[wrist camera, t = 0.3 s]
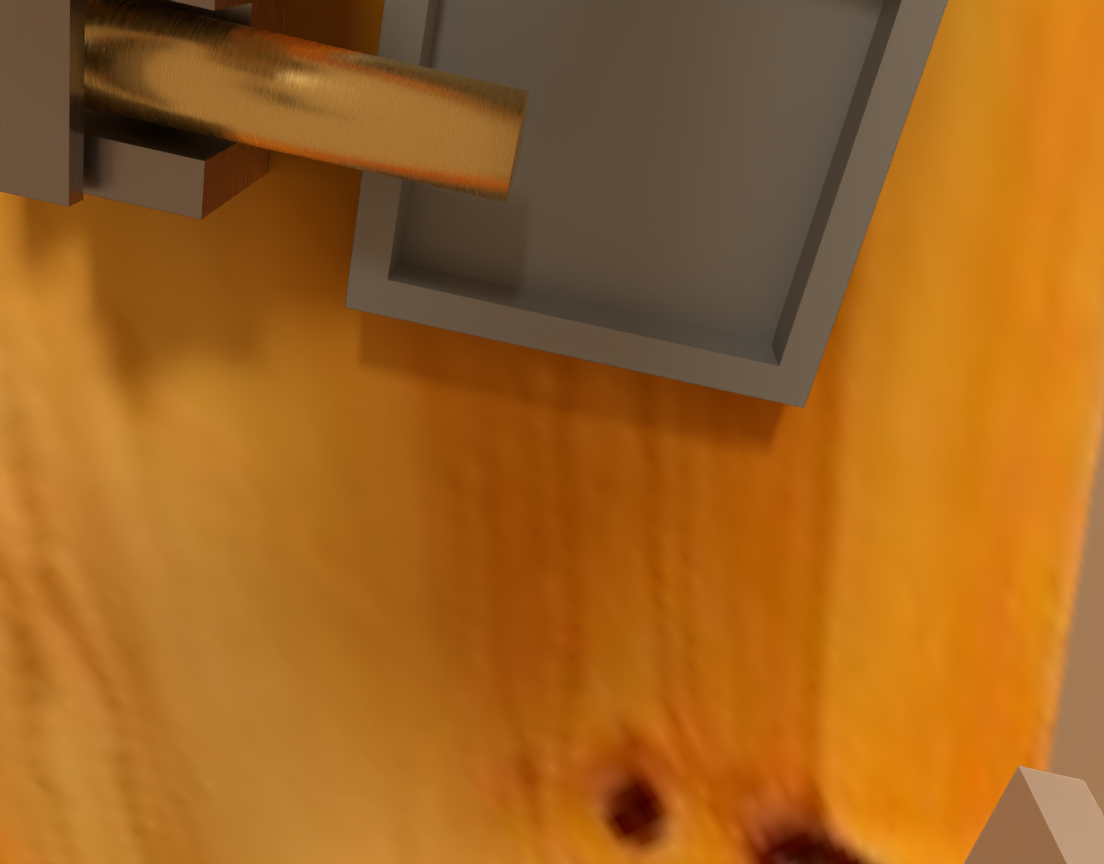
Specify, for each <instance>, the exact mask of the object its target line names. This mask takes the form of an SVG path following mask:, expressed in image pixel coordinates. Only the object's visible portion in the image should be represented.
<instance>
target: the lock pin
mask: <svg viewBox="0 0 1104 864" xmlns="http://www.w3.org/2000/svg"><path fill="white" fill-rule="evenodd" d="M529 95H530V91H528V90H523V89H519V88H515V87H510V86H506V85H502V84H497V83H493V82H488V81H484V80H480V79H475V78H471V77H467V76H462V75H458V74H454V73H449V72H445V71H441V70H436V69H432V68H427V67H423V66H419V65H414V64H410V63H406V62H401V61H397V60H393V59H388V58H384V57H380V56H375V55H371V54H366V53H362V52H358V51H353V50H349V49H345V48H340V47H336V46H332V45H327V44H323V43H319V42H314V41H310V40H306V39H301V38H297V37H292V36H288V35H284V34H279V33H275V32H271V31H266V30H262V29H258V28H253V27H249V26H245V25H240V24H236V23H231V22H227V21H223V20H218V19H214V18H210V17H205V16H201V15H197V14H192V13H188V12H184V11H179V10H175V9H170V8H166V7H162V6H157V5H153V4H149V3H144V2H140V1H136V0H85V66H84V108H87V109H91V110H96V111H100V112H105V113H109V114H114V115H118V116H122V117H127V118H131V119H136V120H140V121H145V122H149V123H154V124H158V125H162V126H167V127H171V128H176V129H180V130H185V131H189V132H194V133H198V134H203V135H207V136H211V137H216V138H220V139H225V140H229V141H234V142H238V143H243V144H247V145H251V146H256V147H260V148H265V149H269V150H274V151H278V152H283V153H287V154H291V155H296V156H300V157H305V158H309V159H314V160H318V161H323V162H327V163H331V164H336V165H340V166H345V167H349V168H354V169H358V170H363V171H367V172H371V173H376V174H380V175H385V176H389V177H394V178H398V179H403V180H407V181H411V182H416V183H420V184H425V185H429V186H434V187H438V188H443V189H447V190H451V191H456V192H460V193H465V194H469V195H474V196H478V197H483V198H487V199H491V200H496V201H500V202H505V203H507V201H508V198H509V195H510V191H511V188H512V184H513V179H514V175H515V171H516V166H517V162H518V157H519V152H520V148H521V143H522V138H523V132H524V127H525V122H526V116H527V110H528V103H529Z"/></svg>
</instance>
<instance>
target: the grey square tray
mask: <svg viewBox="0 0 1104 864" xmlns="http://www.w3.org/2000/svg"><path fill="white" fill-rule="evenodd" d="M947 2H948V0H385V3H384V11H383V18H382V26H381V34H380V42H379V49H378V56H380V57H384V58H388V59H393V60H397V61H401V62H406V63H410V64H414V65H419V66H423V67H427V68H432V69H436V70H441V71H445V72H449V73H454V74H458V75H462V76H467V77H471V78H475V79H480V80H484V81H488V82H493V83H497V84H502V85H506V86H510V87H515V88H519V89H523V90H528V91H530V95H529V103H528V110H527V116H526V122H525V127H524V132H523V138H522V143H521V148H520V152H519V157H518V162H517V166H516V171H515V175H514V179H513V184H512V188H511V191H510V195H509V198H508V201H507V203H505V202H500V201H496V200H491V199H487V198H483V197H478V196H474V195H469V194H465V193H460V192H456V191H451V190H447V189H443V188H438V187H434V186H429V185H425V184H420V183H416V182H411V181H407V180H403V179H398V178H394V177H389V176H385V175H380V174H376V173H371V172H367V171H363V172H362V180H361V188H360V195H359V203H358V211H357V218H356V226H355V234H354V241H353V249H352V257H351V265H350V272H349V280H348V288H347V295H346V303H345V307H346V308H350V309H355V310H360V311H364V312H369V313H373V314H378V315H382V316H387V317H391V318H396V319H401V320H405V321H410V322H414V323H419V324H423V325H428V326H432V327H437V328H442V329H446V330H451V331H455V332H460V333H464V334H469V335H473V336H478V337H483V338H487V339H492V340H496V341H501V342H505V343H510V344H514V345H519V346H524V347H528V348H533V349H537V350H542V351H546V352H551V353H556V354H560V355H565V356H569V357H574V358H578V359H583V360H587V361H592V362H597V363H601V364H606V365H610V366H615V367H619V368H624V369H628V370H633V371H638V372H642V373H647V374H651V375H656V376H660V377H665V378H669V379H674V380H679V381H683V382H688V383H692V384H697V385H701V386H706V387H710V388H715V389H720V390H724V391H729V392H733V393H738V394H742V395H747V396H751V397H756V398H761V399H765V400H770V401H774V402H779V403H783V404H788V405H792V406H797V407H802V408H804V407H805V404H806V401H807V398H808V395H809V393H810V390H811V387H812V384H813V381H814V378H815V376H816V373H817V370H818V367H819V364H820V361H821V359H822V356H823V353H824V350H825V347H826V344H827V342H828V339H829V336H830V333H831V330H832V327H833V325H834V322H835V319H836V316H837V313H838V311H839V308H840V305H841V302H842V299H843V296H844V294H845V291H846V288H847V285H848V282H849V279H850V277H851V274H852V271H853V268H854V265H855V262H856V260H857V257H858V254H859V251H860V248H861V245H862V243H863V240H864V237H865V234H866V231H867V228H868V226H869V223H870V220H871V217H872V214H873V211H874V209H875V206H876V203H877V200H878V197H879V194H880V192H881V189H882V186H883V183H884V180H885V178H886V175H887V172H888V169H889V166H890V163H891V161H892V158H893V155H894V152H895V149H896V146H897V144H898V141H899V138H900V135H901V132H902V129H903V127H904V124H905V121H906V118H907V115H908V112H909V110H910V107H911V104H912V101H913V98H914V95H915V93H916V90H917V87H918V84H919V81H920V78H921V76H922V73H923V70H924V67H925V64H926V61H927V59H928V56H929V53H930V50H931V47H932V45H933V42H934V39H935V36H936V33H937V30H938V28H939V25H940V22H941V19H942V16H943V13H944V11H945V8H946V5H947Z"/></svg>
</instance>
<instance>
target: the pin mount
mask: <svg viewBox="0 0 1104 864" xmlns="http://www.w3.org/2000/svg"><path fill="white" fill-rule="evenodd" d="M136 1H140V2H144V3H149V4H153V5H157V6H162V7H166V8H170V9H175V10H179V11H184V12H188V13H192V14H197V15H201V16H205V17H210V18H214V19H218V20H223V21H227V22H231V23H236V24H240V25H245V26H249V27H253V28H258V29H262V30H266V31H271V32H275V33H279V34H280V31H281V20H282V9H283V0H136ZM84 66H85V0H0V192H5V193H9V194H14V195H18V196H23V197H27V198H32V199H36V200H41V201H46V202H50V203H55V204H59V205H64V206H68V207H69V206H71V205H73V204H75V203H77V202H79V201H81V200H83V193H84V194H89V195H94V196H98V197H103V198H107V199H112V200H116V201H121V202H125V203H130V204H134V205H139V206H143V207H148V208H152V209H157V210H161V211H166V212H170V213H175V214H179V215H184V216H188V217H193V218H197V219H202V218H204V217H205V216H207V215H208V214H210V213H211V212H212V211H214V210H215V209H217V208H218V207H220V206H221V205H222V204H224V203H225V202H227V201H228V200H229V199H231V198H232V197H234V196H235V195H237V194H238V193H239V192H241V191H242V190H244V189H245V188H247V187H248V186H249V185H251V184H252V183H254V182H255V181H257V180H258V179H259V178H261V177H262V176H264V175H265V174H266V173H268V165H269V154H270V150H269V149H265V148H260V147H256V146H251V145H247V144H243V143H238V142H234V141H229V140H225V139H220V138H216V137H211V136H207V135H203V134H198V133H194V132H189V131H185V130H180V129H176V128H171V127H167V126H162V125H158V124H154V123H149V122H145V121H140V120H136V119H131V118H127V117H122V116H118V115H114V114H109V113H105V112H100V111H96V110H91V109H87V108H84Z"/></svg>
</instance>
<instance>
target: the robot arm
mask: <svg viewBox="0 0 1104 864" xmlns="http://www.w3.org/2000/svg"><path fill="white" fill-rule="evenodd" d="M964 864H1104V816H1103V814H1102V812H1101V810H1100V808H1099V807H1098V805H1097V803H1096V801H1095V800H1094V798H1093V796H1092V794H1091V792H1090V791H1089V789H1088V788H1087V785H1086V784H1085V782H1084V780H1081V779H1076V778H1072V777H1067V776H1062V775H1058V774H1054V773H1049V772H1044V771H1040V770H1035V769H1031V768H1026V767H1022V766H1018V768H1017V770H1016V771H1015V773H1014V775H1013V777H1012V779H1011V780H1010V782H1009V784H1008V786H1007V788H1006V789H1005V791H1004V793H1003V795H1002V796H1001V798H1000V800H999V802H998V804H997V805H996V807H995V809H994V811H993V813H992V814H991V816H990V818H989V820H988V822H987V823H986V825H985V827H984V829H983V831H982V832H981V834H980V836H979V838H978V840H977V841H976V843H975V845H974V847H973V848H972V850H971V852H970V854H969V856H968V857H967V859H966V861H965V863H964Z"/></svg>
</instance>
